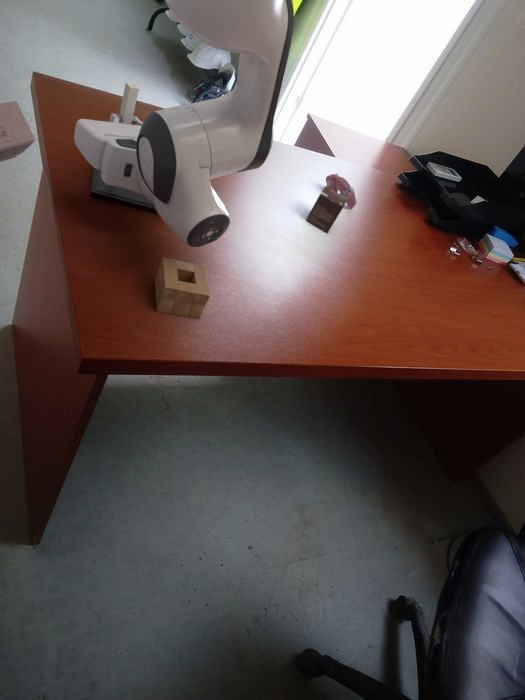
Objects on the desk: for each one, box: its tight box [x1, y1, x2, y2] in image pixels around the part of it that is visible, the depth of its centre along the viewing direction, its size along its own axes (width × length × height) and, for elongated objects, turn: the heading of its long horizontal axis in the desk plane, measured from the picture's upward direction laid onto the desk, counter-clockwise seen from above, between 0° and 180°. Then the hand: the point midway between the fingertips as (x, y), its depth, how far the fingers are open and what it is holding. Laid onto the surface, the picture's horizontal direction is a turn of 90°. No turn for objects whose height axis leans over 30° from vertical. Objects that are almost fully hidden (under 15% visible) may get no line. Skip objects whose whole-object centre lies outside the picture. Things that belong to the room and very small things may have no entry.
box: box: [306, 185, 347, 234], centre depth 106 cm, size 6×6×7 cm
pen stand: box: [154, 256, 211, 319], centre depth 69 cm, size 7×7×5 cm
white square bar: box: [119, 81, 140, 125], centre depth 77 cm, size 2×2×15 cm
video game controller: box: [325, 172, 357, 209], centre depth 120 cm, size 10×5×7 cm
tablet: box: [89, 166, 159, 215], centre depth 87 cm, size 20×14×1 cm
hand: (122, 118), depth 76 cm, fingers closed on white square bar, 1 cm apart
